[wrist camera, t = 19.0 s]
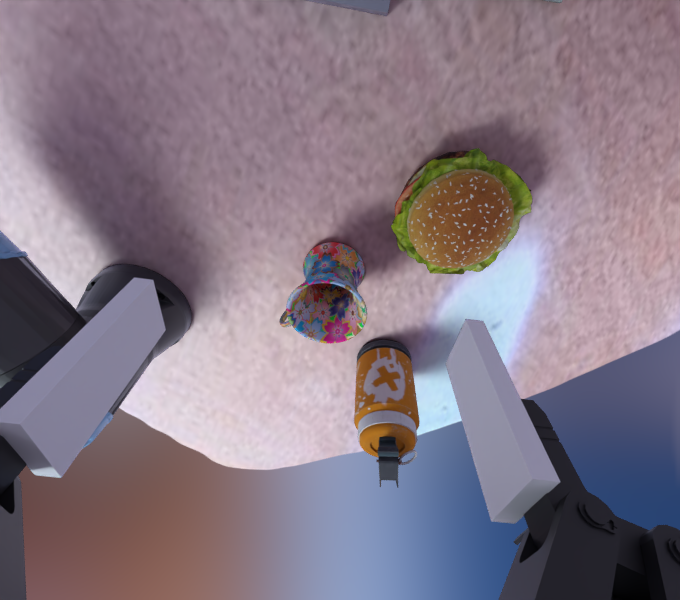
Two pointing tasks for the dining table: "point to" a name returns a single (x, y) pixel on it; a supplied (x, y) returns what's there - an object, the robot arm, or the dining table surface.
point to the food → (460, 212)
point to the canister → (386, 405)
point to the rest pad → (557, 0)
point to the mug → (328, 295)
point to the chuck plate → (360, 5)
